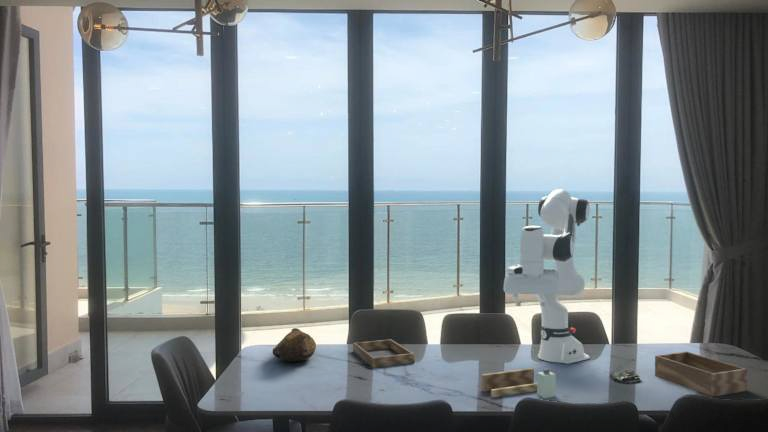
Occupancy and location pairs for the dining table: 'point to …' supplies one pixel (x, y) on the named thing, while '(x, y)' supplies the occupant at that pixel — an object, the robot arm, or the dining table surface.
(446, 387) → the dining table surface
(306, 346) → the brown rough lump
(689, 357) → the open wooden box
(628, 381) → the mottled grey lump
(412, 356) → the rectangular wooden frame
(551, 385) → the cabinet block
